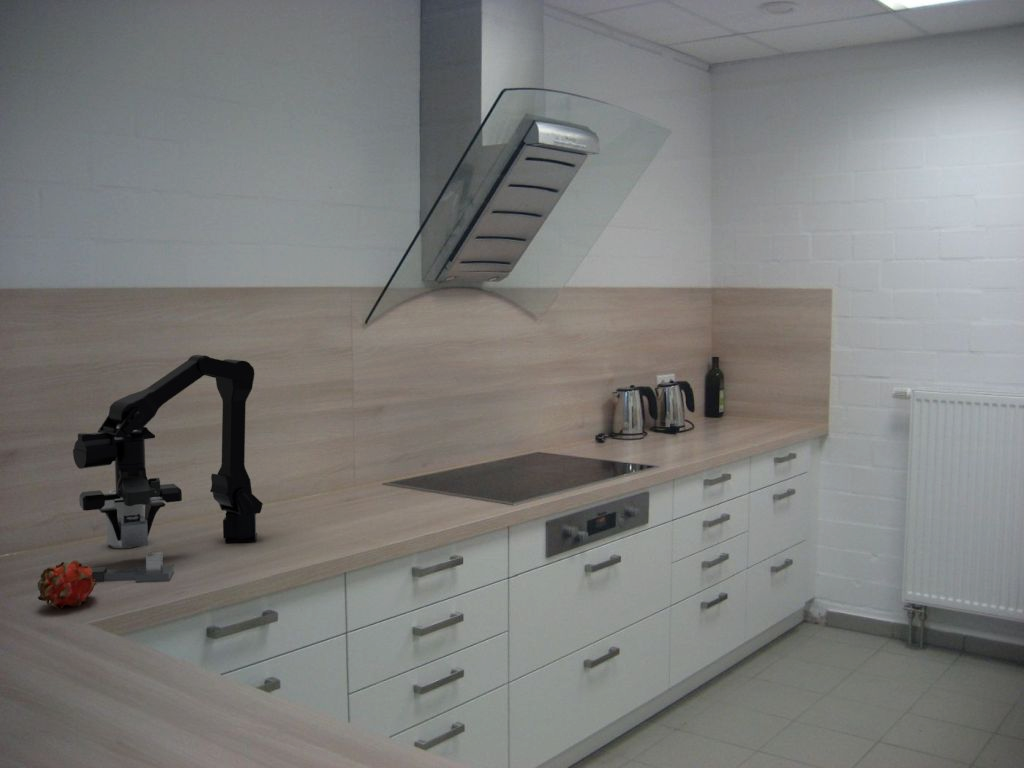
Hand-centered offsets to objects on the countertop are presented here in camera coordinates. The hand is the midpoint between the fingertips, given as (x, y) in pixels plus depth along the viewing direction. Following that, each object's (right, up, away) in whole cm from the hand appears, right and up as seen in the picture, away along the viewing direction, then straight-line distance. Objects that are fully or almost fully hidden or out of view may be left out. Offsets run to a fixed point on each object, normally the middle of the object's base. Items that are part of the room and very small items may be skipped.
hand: (132, 538), depth 203 cm
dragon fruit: (-1, -8, -27) cm, 28 cm away
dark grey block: (0, -1, 0) cm, 1 cm away
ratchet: (+1, -6, -11) cm, 13 cm away
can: (-6, -4, +14) cm, 15 cm away
